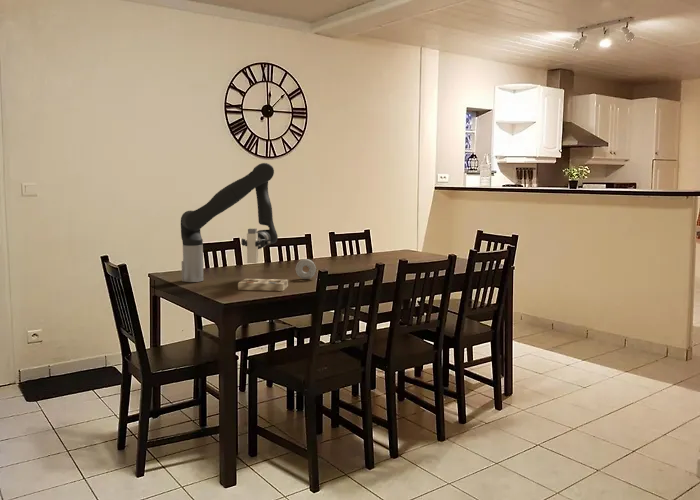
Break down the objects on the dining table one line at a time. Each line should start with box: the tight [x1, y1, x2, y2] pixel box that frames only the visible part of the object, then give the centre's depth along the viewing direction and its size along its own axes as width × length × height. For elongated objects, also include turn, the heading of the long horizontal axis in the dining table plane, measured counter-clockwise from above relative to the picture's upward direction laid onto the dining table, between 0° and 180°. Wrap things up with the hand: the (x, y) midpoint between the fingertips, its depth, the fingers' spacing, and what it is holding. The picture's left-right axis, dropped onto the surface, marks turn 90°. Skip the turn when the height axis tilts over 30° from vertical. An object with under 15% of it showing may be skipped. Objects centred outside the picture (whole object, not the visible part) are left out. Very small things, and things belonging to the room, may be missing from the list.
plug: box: [246, 228, 259, 264], centre depth 280 cm, size 4×4×15 cm
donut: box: [295, 258, 317, 280], centre depth 306 cm, size 10×4×10 cm, turn 86°
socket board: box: [237, 278, 289, 292], centre depth 281 cm, size 20×12×3 cm, turn 85°
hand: (251, 244), depth 277 cm, fingers closed on plug, 4 cm apart
